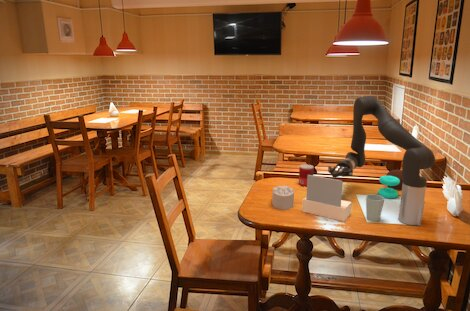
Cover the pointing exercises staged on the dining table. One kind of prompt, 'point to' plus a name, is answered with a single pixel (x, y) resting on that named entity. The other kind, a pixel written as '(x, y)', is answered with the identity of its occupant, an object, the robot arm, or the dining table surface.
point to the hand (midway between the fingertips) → (334, 175)
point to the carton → (327, 209)
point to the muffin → (399, 175)
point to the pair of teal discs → (389, 182)
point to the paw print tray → (283, 197)
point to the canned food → (305, 174)
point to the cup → (374, 207)
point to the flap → (324, 190)
